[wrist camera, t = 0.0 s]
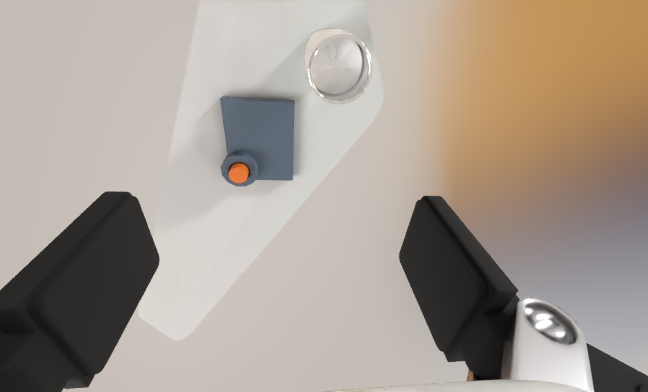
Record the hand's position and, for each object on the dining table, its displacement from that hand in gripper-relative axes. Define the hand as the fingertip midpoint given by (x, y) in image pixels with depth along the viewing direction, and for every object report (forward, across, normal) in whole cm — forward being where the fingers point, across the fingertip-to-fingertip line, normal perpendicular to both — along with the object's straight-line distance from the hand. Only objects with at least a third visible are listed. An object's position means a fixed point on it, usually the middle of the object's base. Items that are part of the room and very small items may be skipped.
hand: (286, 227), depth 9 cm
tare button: (+34, +8, +17) cm, 39 cm away
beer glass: (+37, -5, -2) cm, 37 cm away
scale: (+37, +5, +12) cm, 39 cm away
